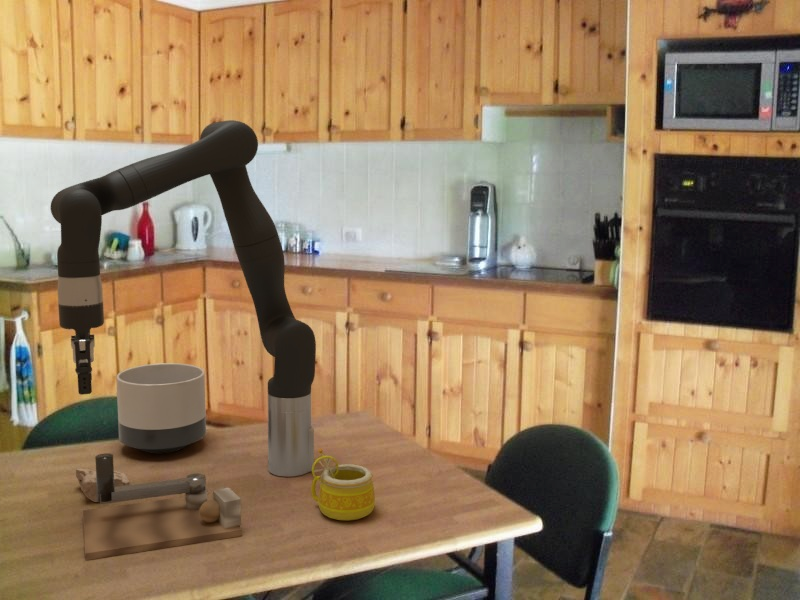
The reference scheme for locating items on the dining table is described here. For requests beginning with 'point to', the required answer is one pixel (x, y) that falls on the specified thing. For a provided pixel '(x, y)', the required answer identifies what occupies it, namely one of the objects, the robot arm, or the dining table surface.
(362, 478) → the mug
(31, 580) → the dining table surface
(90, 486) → the stone
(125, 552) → the board
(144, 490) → the lever
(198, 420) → the planter
